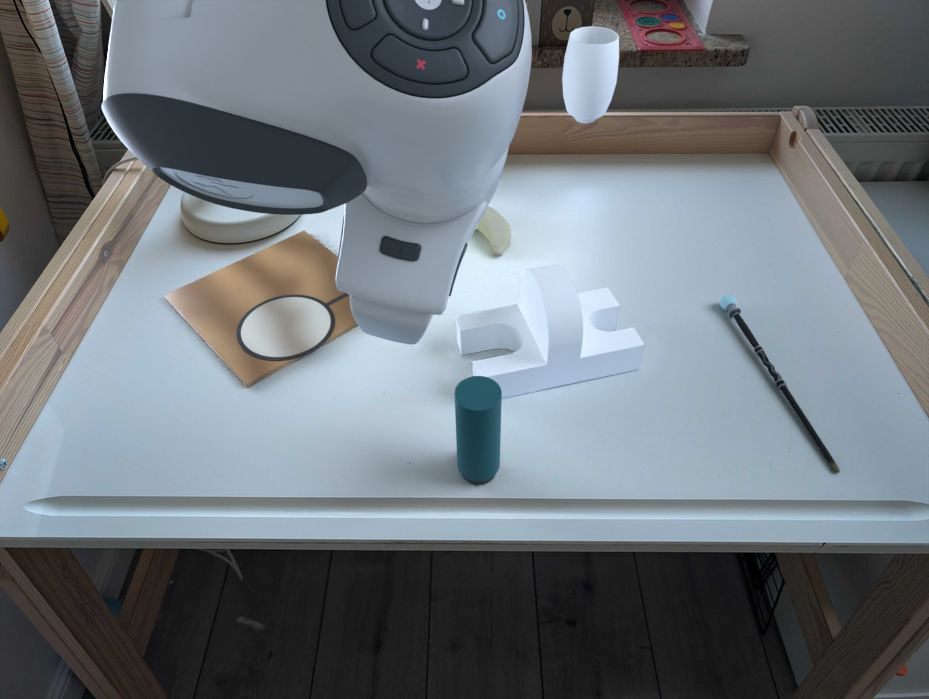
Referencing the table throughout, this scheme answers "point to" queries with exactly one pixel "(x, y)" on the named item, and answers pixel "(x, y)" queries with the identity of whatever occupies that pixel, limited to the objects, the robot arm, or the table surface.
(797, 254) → the table surface
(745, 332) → the magic staff
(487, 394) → the teal cylinder
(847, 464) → the table surface
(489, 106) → the robot arm
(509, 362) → the block with arch cutout
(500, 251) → the fruit
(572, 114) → the cup
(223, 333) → the brown flat square board
